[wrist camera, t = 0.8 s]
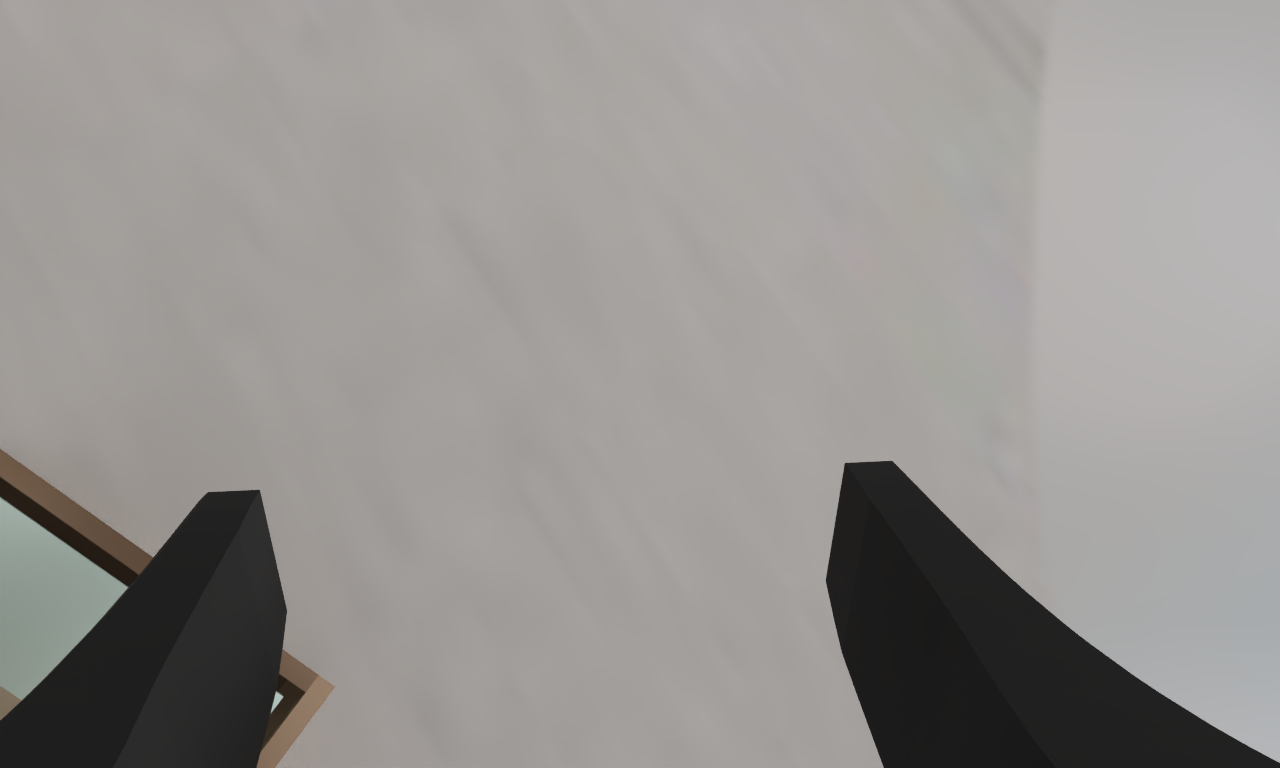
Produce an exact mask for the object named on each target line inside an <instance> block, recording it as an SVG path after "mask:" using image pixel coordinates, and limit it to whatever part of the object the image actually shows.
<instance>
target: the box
mask: <svg viewBox="0 0 1280 768" xmlns="http://www.w3.org/2000/svg"><path fill="white" fill-rule="evenodd" d="M0 497H1V498H3V499H4V500H6V501H7V502H8V503H10V504H11V505H13V506H14V507H16V508H17V509H18V510H20V511H21V512H23V513H24V514H25V515H27V516H28V517H30V518H31V519H33V520H34V521H35V522H37V523H38V524H40V525H41V526H43V527H44V528H45V529H47V530H48V531H50V532H51V533H53V534H54V535H55V536H57V537H58V538H60V539H61V540H62V541H64V542H65V543H67V544H68V545H70V546H71V547H72V548H74V549H75V550H77V551H78V552H80V553H81V554H82V555H84V556H85V557H87V558H88V559H90V560H91V561H92V562H94V563H95V564H97V565H98V566H99V567H101V568H102V569H104V570H105V571H107V572H108V573H109V574H111V575H112V576H114V577H115V578H117V579H118V580H119V581H121V582H122V583H124V584H125V585H127V586H128V587H129V586H130V585H131V584H132V583H133V581H134V580H135V579H136V578H137V577H138V576H139V574H140V573H141V572H142V571H143V570H144V568H145V567H146V566H147V565H148V564H149V562H150V561H151V560H152V559H153V557H152V556H150V555H149V554H147V553H146V552H144V551H143V550H142V549H140V548H139V547H137V546H136V545H135V544H133V543H132V542H130V541H129V540H128V539H126V538H125V537H123V536H122V535H121V534H119V533H118V532H116V531H115V530H113V529H112V528H111V527H109V526H108V525H106V524H105V523H104V522H102V521H101V520H99V519H98V518H97V517H95V516H94V515H92V514H91V513H90V512H88V511H87V510H85V509H84V508H82V507H81V506H80V505H78V504H77V503H75V502H74V501H73V500H71V499H70V498H68V497H67V496H66V495H64V494H63V493H61V492H60V491H59V490H57V489H56V488H54V487H53V486H52V485H50V484H49V483H47V482H46V481H44V480H43V479H42V478H40V477H39V476H37V475H36V474H35V473H33V472H32V471H30V470H29V469H28V468H26V467H25V466H23V465H22V464H21V463H19V462H18V461H16V460H15V459H13V458H12V457H11V456H9V455H8V454H6V453H5V452H4V451H2V450H1V449H0ZM334 687H335V686H333V685H332V684H330V683H329V682H328V681H326V680H325V679H323V678H322V677H321V676H319V675H318V674H316V673H315V672H313V671H312V670H311V669H309V668H308V667H306V666H305V665H304V664H302V663H301V662H299V661H298V660H297V659H295V658H294V657H292V656H291V655H290V654H288V653H287V652H285V651H284V650H282V656H281V663H280V670H279V677H278V685H277V690H276V691H277V692H279V693H280V694H282V695H283V698H282V699H281V701H280V702H279V703H278V705H277V706H276V707H275V709H274V710H273V711H272V713H271V714H270V718H269V722H268V725H267V729H266V733H265V737H264V741H263V745H262V749H261V752H260V756H259V760H258V764H257V768H275V767H276V766H277V764H278V763H279V762H280V760H281V759H282V758H283V756H284V755H285V753H286V752H287V751H288V749H289V748H290V747H291V745H292V744H293V743H294V741H295V740H296V739H297V737H298V736H299V735H300V733H301V732H302V731H303V729H304V728H305V727H306V725H307V724H308V723H309V721H310V720H311V718H312V717H313V716H314V714H315V713H316V712H317V710H318V709H319V708H320V706H321V705H322V704H323V702H324V701H325V700H326V698H327V697H328V696H329V694H330V693H331V692H332V690H333V689H334Z"/></svg>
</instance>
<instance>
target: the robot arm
mask: <svg viewBox="0 0 1280 768" xmlns="http://www.w3.org/2000/svg"><path fill="white" fill-rule="evenodd" d="M826 584H827V588H828V593H829V598H830V602H831V607H832V612H833V616H834V621H835V625H836V629H837V633H838V638H839V642H840V646H841V650H842V654H843V657H844V659H845V662H846V665H847V668H848V671H849V674H850V676H851V679H852V682H853V685H854V687H855V690H856V693H857V696H858V699H859V701H860V704H861V707H862V710H863V712H864V715H865V718H866V720H867V723H868V726H869V728H870V731H871V734H872V737H873V739H874V742H875V745H876V747H877V750H878V753H879V756H880V758H881V761H882V764H883V766H884V768H1280V763H1279V762H1277V761H1275V760H1273V759H1271V758H1269V757H1267V756H1265V755H1263V754H1262V753H1260V752H1258V751H1256V750H1254V749H1252V748H1250V747H1248V746H1247V745H1245V744H1243V743H1241V742H1239V741H1238V740H1236V739H1234V738H1233V737H1231V736H1229V735H1227V734H1226V733H1224V732H1222V731H1220V730H1219V729H1217V728H1215V727H1213V726H1212V725H1210V724H1208V723H1207V722H1205V721H1204V720H1202V719H1200V718H1199V717H1197V716H1196V715H1194V714H1192V713H1191V712H1189V711H1188V710H1186V709H1184V708H1183V707H1181V706H1179V705H1178V704H1176V703H1175V702H1173V701H1171V700H1170V699H1168V698H1167V697H1165V696H1164V695H1162V694H1160V693H1159V692H1157V691H1156V690H1154V689H1153V688H1151V687H1150V686H1148V685H1147V684H1145V683H1144V682H1142V681H1141V680H1139V679H1138V678H1136V677H1135V676H1134V675H1132V674H1131V673H1129V672H1128V671H1127V670H1125V669H1124V668H1122V667H1121V666H1120V665H1118V664H1117V663H1116V662H1114V661H1113V660H1111V659H1110V658H1109V657H1107V656H1106V655H1104V654H1103V653H1102V652H1100V651H1099V650H1098V649H1096V648H1095V647H1093V646H1092V645H1091V644H1089V643H1088V642H1087V641H1085V640H1084V639H1083V638H1082V637H1080V636H1079V635H1078V634H1076V633H1075V632H1074V631H1072V630H1071V629H1070V628H1069V627H1068V626H1066V625H1065V624H1064V623H1063V622H1061V621H1060V620H1059V619H1058V618H1057V617H1055V616H1054V615H1053V614H1052V613H1051V612H1049V611H1048V610H1047V609H1046V608H1045V607H1044V606H1042V605H1041V604H1040V603H1039V602H1038V601H1036V600H1035V599H1034V598H1033V597H1032V596H1030V595H1029V594H1028V593H1027V592H1026V591H1025V590H1023V589H1022V588H1021V587H1020V586H1019V585H1018V584H1017V583H1016V582H1015V581H1013V580H1012V579H1011V578H1010V577H1009V576H1008V575H1007V574H1006V573H1005V572H1004V571H1002V570H1001V569H1000V568H999V567H998V566H997V565H996V564H995V563H994V562H993V561H992V560H991V559H990V558H989V557H988V556H987V555H985V554H984V553H983V552H982V551H981V550H980V549H979V548H978V547H977V546H976V545H975V544H974V543H973V542H972V541H971V540H970V539H969V538H968V537H967V536H966V535H965V534H964V533H963V532H962V531H961V530H960V529H959V528H958V527H957V526H956V525H955V524H954V523H953V522H952V521H951V520H950V519H949V518H948V517H947V516H946V515H945V514H944V513H943V512H942V511H941V510H940V509H939V508H938V507H937V506H936V505H935V504H934V503H933V502H932V501H931V500H930V499H929V498H928V497H927V496H926V495H925V494H924V493H923V492H922V491H921V490H920V489H919V488H918V487H917V486H916V485H915V484H914V483H913V482H912V481H911V480H910V479H909V478H908V476H907V475H906V474H905V473H904V472H903V471H902V470H901V469H900V468H899V467H898V466H897V465H896V464H895V463H894V462H893V461H880V462H859V463H845V466H844V472H843V478H842V485H841V491H840V497H839V503H838V509H837V515H836V521H835V528H834V534H833V540H832V546H831V552H830V558H829V564H828V571H827V577H826ZM286 614H287V609H286V604H285V600H284V596H283V591H282V587H281V582H280V578H279V573H278V569H277V564H276V560H275V555H274V551H273V547H272V542H271V538H270V533H269V529H268V524H267V520H266V515H265V511H264V507H263V502H262V498H261V493H260V490H248V491H226V492H208V493H207V494H206V495H205V496H204V497H203V498H202V499H201V500H200V501H199V502H198V503H197V504H196V506H195V507H194V508H193V509H192V511H191V512H190V513H189V514H188V515H187V517H186V518H185V519H184V520H183V522H182V523H181V524H180V525H179V527H178V528H177V529H176V530H175V532H174V533H173V534H172V535H171V537H170V538H169V539H168V540H167V542H166V543H165V544H164V545H163V547H162V548H161V549H160V550H159V551H158V553H157V554H156V555H155V556H154V557H153V559H152V560H151V561H150V562H149V564H148V565H147V566H146V567H145V568H144V570H143V571H142V572H141V573H140V574H139V576H138V577H137V578H136V579H135V580H134V581H133V583H132V584H131V585H130V586H129V587H128V588H127V589H126V591H125V592H124V593H123V594H122V595H121V596H120V597H119V599H118V600H117V601H116V602H115V603H114V604H113V606H112V607H111V608H110V609H109V610H108V611H107V612H106V614H105V615H104V616H103V617H102V618H101V619H100V620H99V622H98V623H97V624H96V625H95V626H94V627H93V628H92V629H91V630H90V631H89V632H88V633H87V635H86V636H85V637H84V638H83V639H82V640H81V641H80V642H79V643H78V644H77V645H76V646H75V647H74V648H73V649H72V650H71V651H70V652H69V653H68V654H67V655H66V656H65V657H64V659H63V660H62V661H61V662H60V663H59V664H58V665H57V666H56V667H55V668H54V669H53V670H52V671H51V672H50V673H49V674H48V675H47V676H46V677H45V678H44V679H43V680H42V681H41V682H40V683H39V684H38V685H37V686H36V687H35V688H34V689H33V690H32V691H31V692H30V693H29V694H28V695H27V696H26V697H25V698H24V699H23V700H22V701H21V702H20V703H18V704H17V705H16V706H15V707H14V708H13V709H12V710H11V711H10V712H9V713H8V714H7V715H6V716H5V717H3V718H2V719H1V720H0V768H257V764H258V760H259V756H260V752H261V749H262V745H263V741H264V737H265V733H266V729H267V725H268V722H269V718H270V714H271V710H272V706H273V702H274V698H275V694H276V690H277V685H278V677H279V670H280V663H281V656H282V648H283V640H284V631H285V623H286Z"/></svg>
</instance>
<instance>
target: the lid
mask: <svg viewBox="0 0 1280 768" xmlns="http://www.w3.org/2000/svg"><path fill="white" fill-rule="evenodd" d="M127 588H128V586H127V585H125V584H124V583H122V582H121V581H119V580H118V579H117V578H115V577H114V576H112V575H111V574H109V573H108V572H107V571H105V570H104V569H102V568H101V567H99V566H98V565H97V564H95V563H94V562H92V561H91V560H90V559H88V558H87V557H85V556H84V555H82V554H81V553H80V552H78V551H77V550H75V549H74V548H72V547H71V546H70V545H68V544H67V543H65V542H64V541H62V540H61V539H60V538H58V537H57V536H55V535H54V534H53V533H51V532H50V531H48V530H47V529H45V528H44V527H43V526H41V525H40V524H38V523H37V522H35V521H34V520H33V519H31V518H30V517H28V516H27V515H25V514H24V513H23V512H21V511H20V510H18V509H17V508H16V507H14V506H13V505H11V504H10V503H8V502H7V501H6V500H4V499H3V498H1V497H0V720H1V719H2V718H3V717H5V716H6V715H7V714H8V713H9V712H10V711H11V710H12V709H13V708H14V707H15V706H16V705H17V704H18V703H20V702H21V701H22V700H23V699H24V698H25V697H26V696H27V695H28V694H29V693H30V692H31V691H32V690H33V689H34V688H35V687H36V686H37V685H38V684H39V683H40V682H41V681H42V680H43V679H44V678H45V677H46V676H47V675H48V674H49V673H50V672H51V671H52V670H53V669H54V668H55V667H56V666H57V665H58V664H59V663H60V662H61V661H62V660H63V659H64V657H65V656H66V655H67V654H68V653H69V652H70V651H71V650H72V649H73V648H74V647H75V646H76V645H77V644H78V643H79V642H80V641H81V640H82V639H83V638H84V637H85V636H86V635H87V633H88V632H89V631H90V630H91V629H92V628H93V627H94V626H95V625H96V624H97V623H98V622H99V620H100V619H101V618H102V617H103V616H104V615H105V614H106V612H107V611H108V610H109V609H110V608H111V607H112V606H113V604H114V603H115V602H116V601H117V600H118V599H119V597H120V596H121V595H122V594H123V593H124V592H125V591H126V589H127ZM282 698H283V695H282V694H280V693H279V692H277V691H276V694H275V698H274V702H273V706H272V710H271V713H272V711H273V710H274V709H275V707H276V706H277V705H278V703H279V702H280V701H281V699H282Z"/></svg>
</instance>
